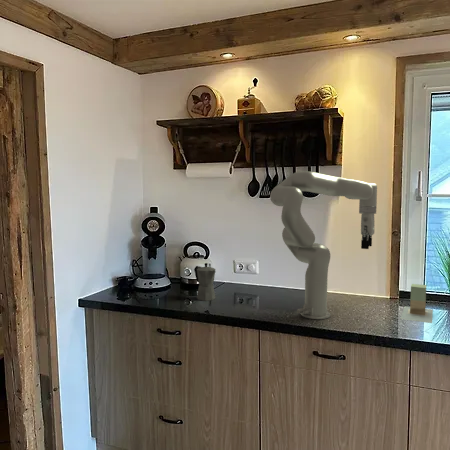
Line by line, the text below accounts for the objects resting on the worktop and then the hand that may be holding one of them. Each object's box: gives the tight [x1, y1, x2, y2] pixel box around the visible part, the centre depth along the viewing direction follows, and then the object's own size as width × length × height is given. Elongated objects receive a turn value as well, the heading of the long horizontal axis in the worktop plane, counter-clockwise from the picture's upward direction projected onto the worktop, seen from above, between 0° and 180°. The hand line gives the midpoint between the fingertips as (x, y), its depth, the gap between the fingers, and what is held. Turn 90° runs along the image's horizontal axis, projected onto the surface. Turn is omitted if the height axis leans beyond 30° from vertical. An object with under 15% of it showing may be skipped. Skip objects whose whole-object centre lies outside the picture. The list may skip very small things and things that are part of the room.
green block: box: [409, 283, 427, 301], centre depth 195 cm, size 6×6×6 cm
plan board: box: [400, 306, 434, 324], centre depth 194 cm, size 22×12×1 cm, turn 154°
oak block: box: [409, 299, 427, 315], centre depth 196 cm, size 6×6×6 cm
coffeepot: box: [193, 262, 217, 302], centre depth 222 cm, size 15×9×18 cm, turn 44°
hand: (366, 247), depth 203 cm, fingers open, 9 cm apart
